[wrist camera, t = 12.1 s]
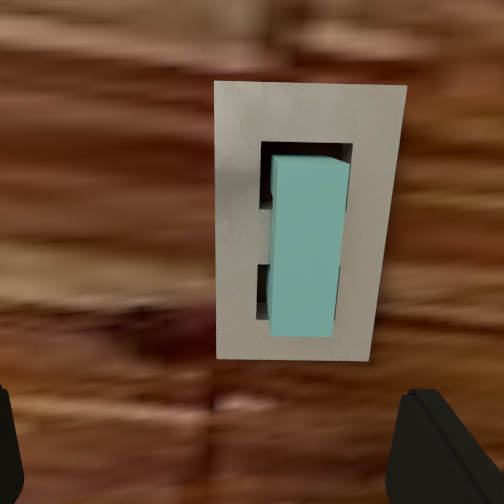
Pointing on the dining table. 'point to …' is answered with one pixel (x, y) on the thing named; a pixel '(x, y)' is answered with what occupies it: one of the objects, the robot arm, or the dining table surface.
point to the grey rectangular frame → (260, 212)
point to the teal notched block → (305, 243)
